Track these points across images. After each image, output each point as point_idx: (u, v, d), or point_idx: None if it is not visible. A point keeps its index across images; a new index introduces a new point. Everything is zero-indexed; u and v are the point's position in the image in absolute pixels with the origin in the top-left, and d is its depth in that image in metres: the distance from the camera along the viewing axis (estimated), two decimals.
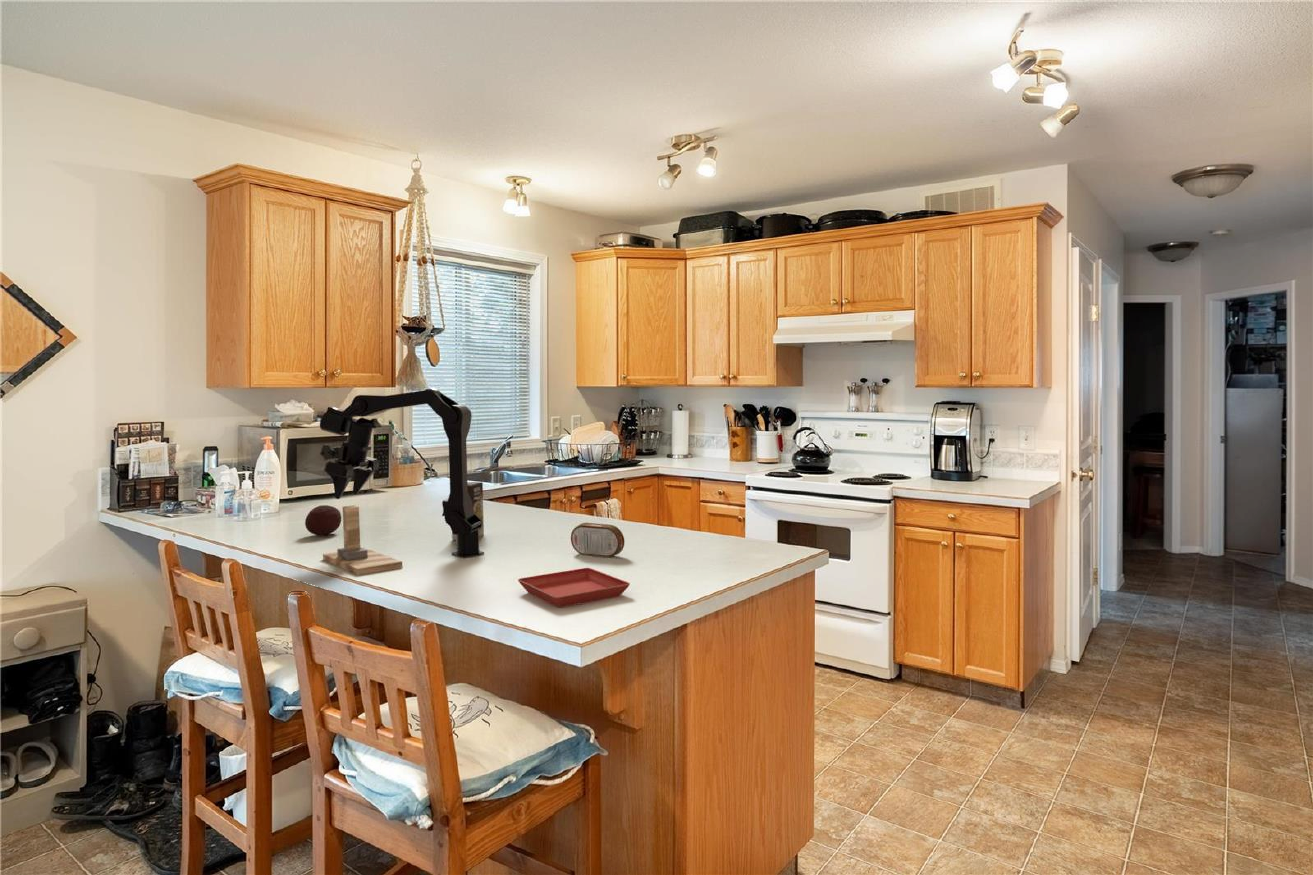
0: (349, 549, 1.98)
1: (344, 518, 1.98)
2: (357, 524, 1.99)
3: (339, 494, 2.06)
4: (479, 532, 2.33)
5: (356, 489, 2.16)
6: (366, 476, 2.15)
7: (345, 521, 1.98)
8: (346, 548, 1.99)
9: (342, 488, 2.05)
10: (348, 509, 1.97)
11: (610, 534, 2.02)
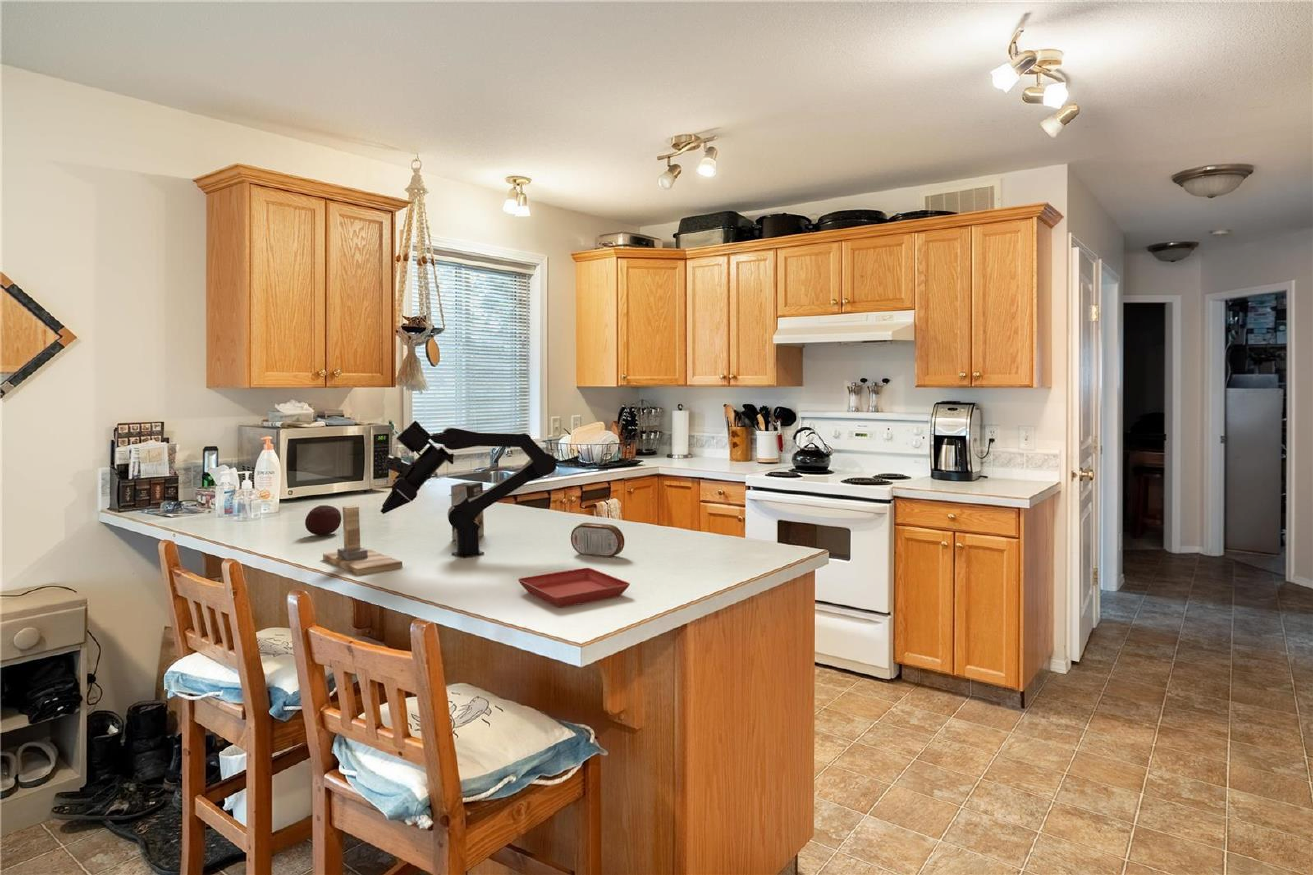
0: (349, 549, 1.98)
1: (344, 518, 1.98)
2: (357, 524, 1.99)
3: (387, 510, 1.97)
4: (479, 532, 2.33)
5: None
6: None
7: (345, 521, 1.98)
8: (346, 548, 1.99)
9: (395, 507, 1.97)
10: (348, 509, 1.97)
11: (610, 534, 2.02)
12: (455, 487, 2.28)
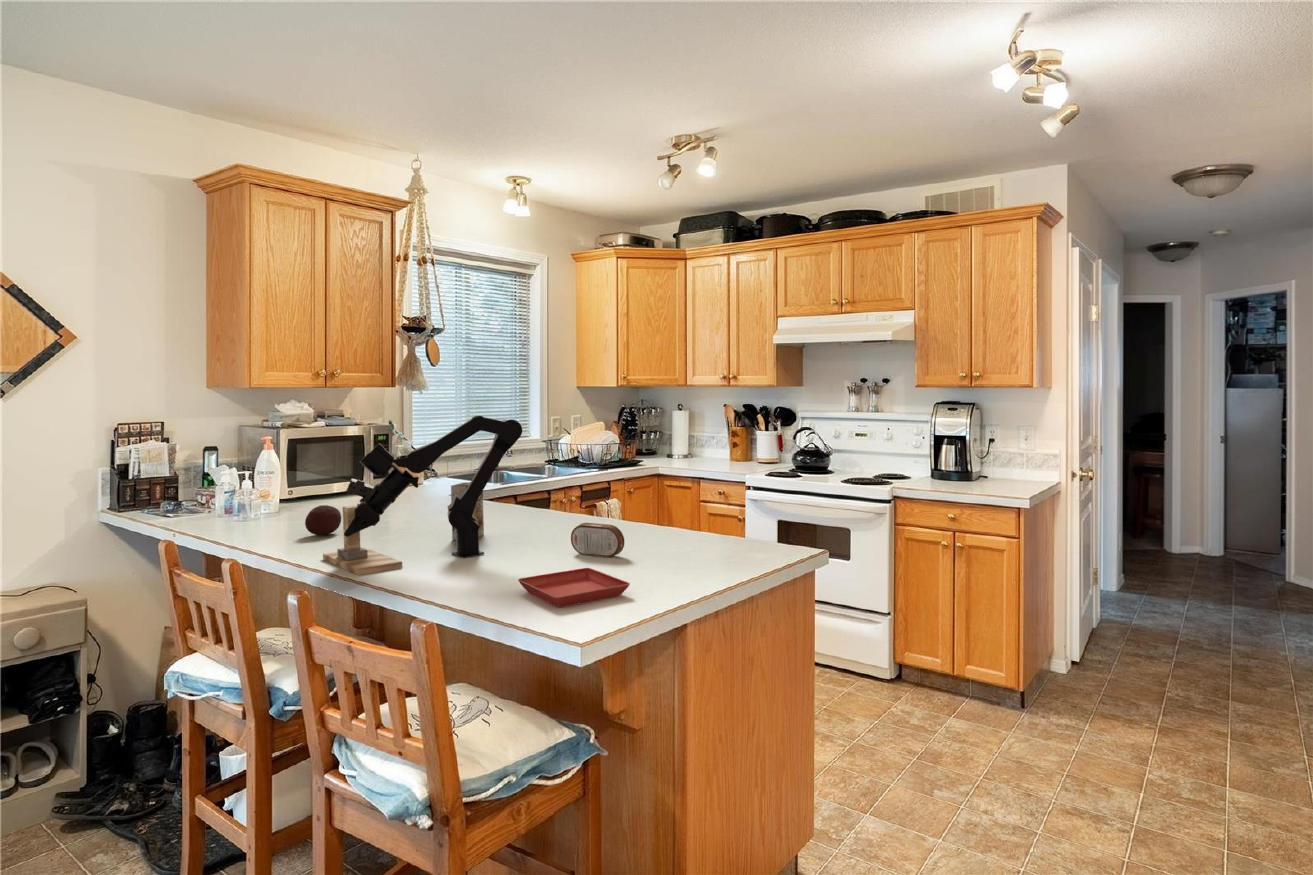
0: (349, 549, 1.98)
1: (344, 518, 1.98)
2: None
3: (350, 533, 1.97)
4: (479, 532, 2.33)
5: None
6: None
7: (345, 521, 1.98)
8: (346, 548, 1.99)
9: (358, 530, 1.97)
10: (348, 509, 1.97)
11: (610, 534, 2.02)
12: (455, 487, 2.28)
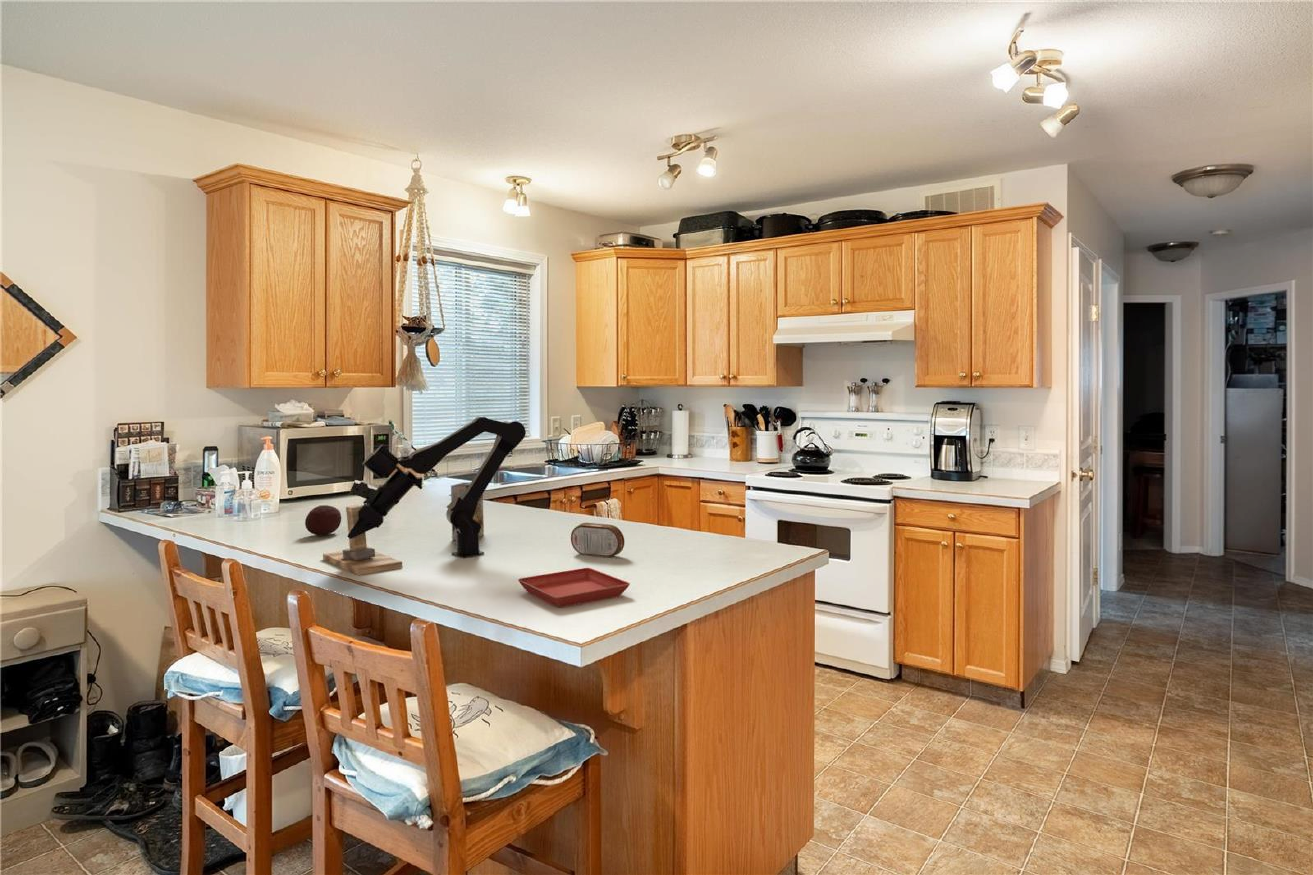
0: (356, 549, 1.96)
1: (348, 518, 1.97)
2: None
3: (354, 535, 1.95)
4: (479, 532, 2.33)
5: None
6: None
7: (349, 521, 1.97)
8: (352, 548, 1.97)
9: (362, 532, 1.95)
10: (353, 509, 1.96)
11: (610, 534, 2.02)
12: (455, 487, 2.28)
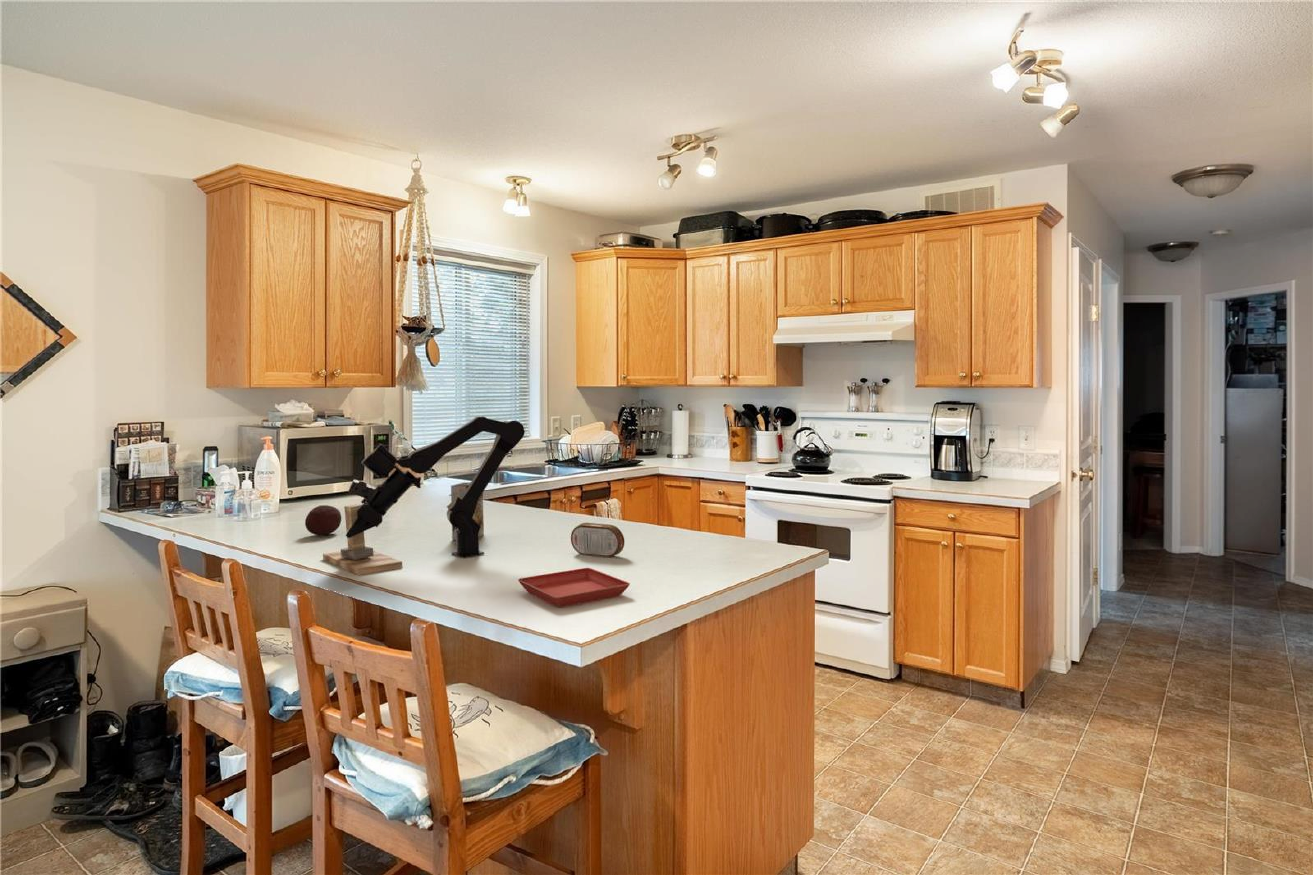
0: (354, 548, 1.97)
1: (347, 518, 1.97)
2: None
3: (353, 534, 1.96)
4: (479, 532, 2.33)
5: None
6: None
7: (348, 520, 1.97)
8: (351, 547, 1.97)
9: (360, 531, 1.96)
10: (351, 508, 1.96)
11: (610, 534, 2.02)
12: (455, 487, 2.28)
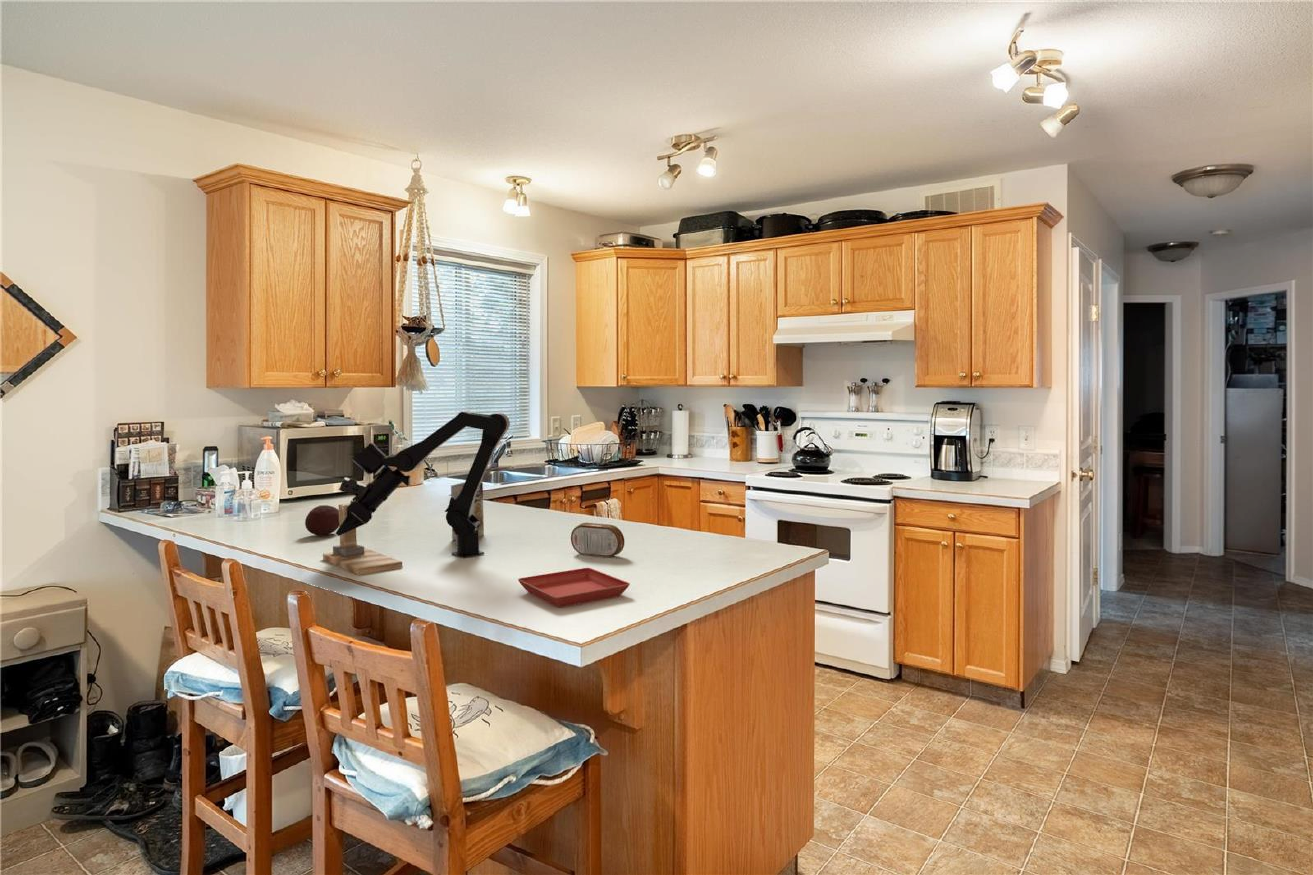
0: (346, 546, 2.02)
1: (340, 516, 2.02)
2: None
3: (342, 532, 1.98)
4: (479, 532, 2.33)
5: None
6: None
7: (341, 519, 2.02)
8: (343, 545, 2.02)
9: (350, 529, 1.98)
10: (345, 507, 2.01)
11: (610, 534, 2.02)
12: (455, 487, 2.28)
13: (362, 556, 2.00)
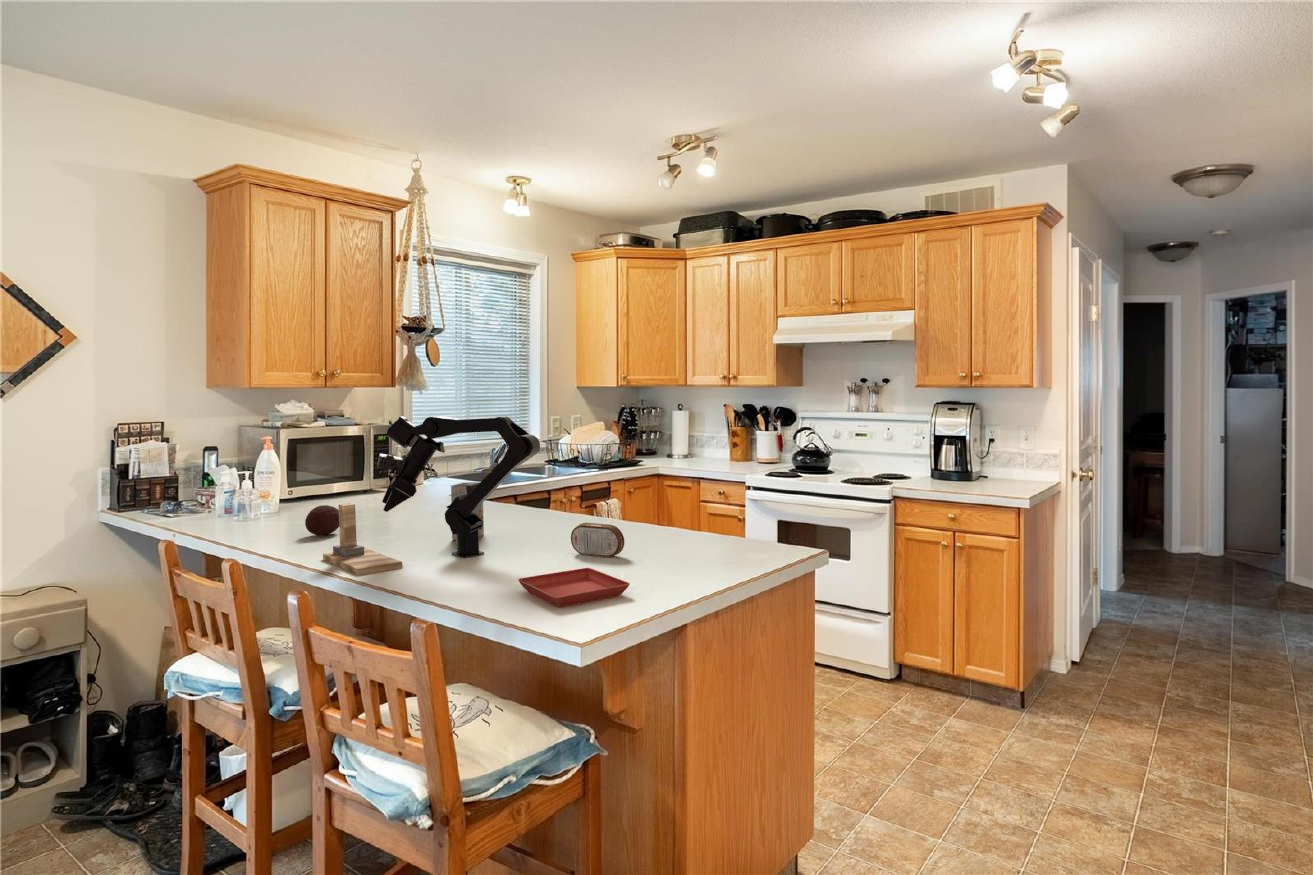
0: (346, 546, 2.02)
1: (340, 516, 2.02)
2: (353, 521, 2.03)
3: (390, 508, 2.03)
4: (479, 532, 2.33)
5: (387, 499, 2.11)
6: None
7: (341, 519, 2.02)
8: (343, 545, 2.02)
9: (397, 503, 2.03)
10: (345, 507, 2.01)
11: (610, 534, 2.02)
12: (455, 487, 2.28)
13: (362, 556, 2.00)
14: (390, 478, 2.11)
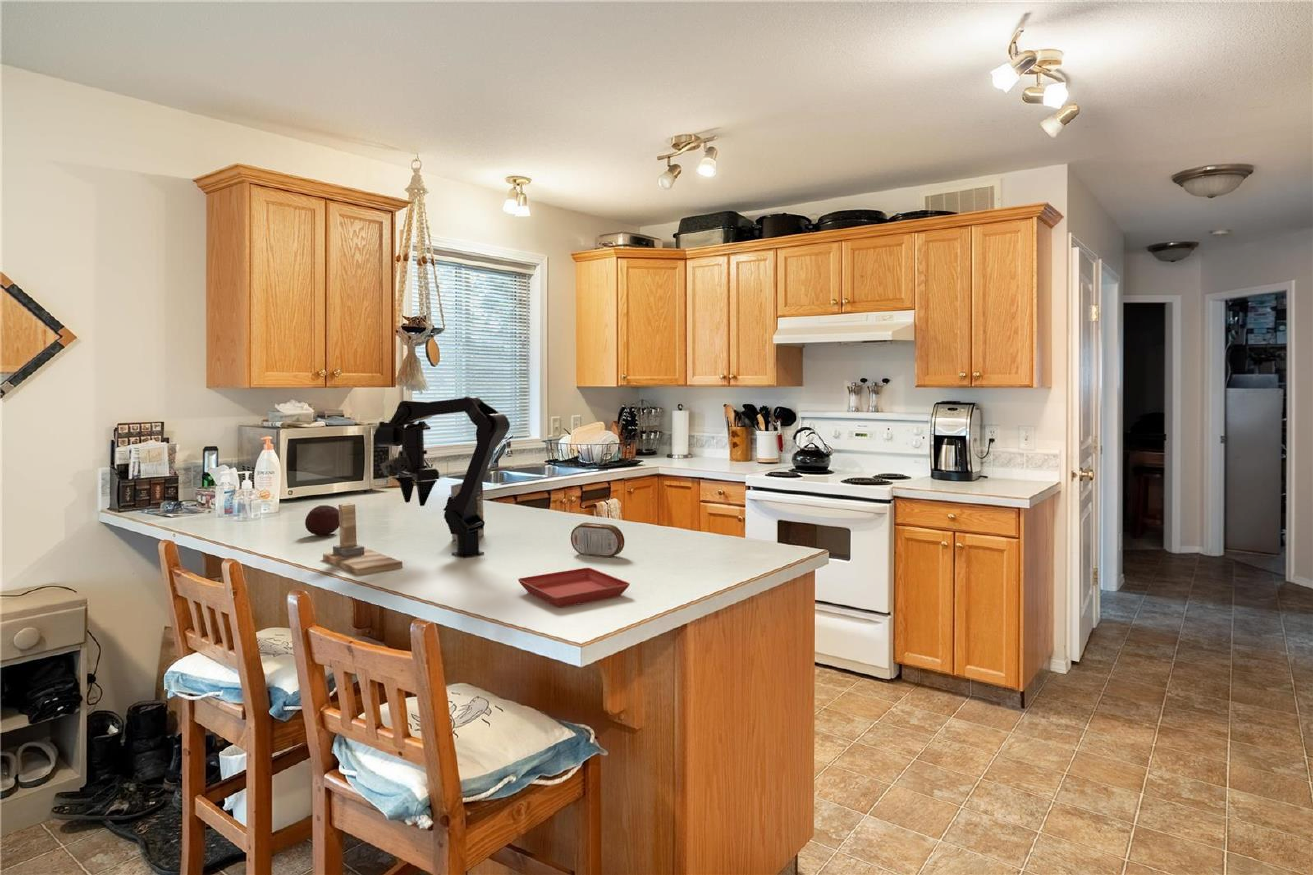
0: (346, 546, 2.02)
1: (340, 516, 2.02)
2: (353, 521, 2.03)
3: (425, 500, 2.09)
4: (479, 532, 2.33)
5: (408, 497, 2.16)
6: (413, 481, 2.17)
7: (341, 519, 2.02)
8: (343, 545, 2.02)
9: (428, 493, 2.09)
10: (345, 507, 2.01)
11: (610, 534, 2.02)
12: (455, 487, 2.28)
13: (362, 556, 2.00)
14: (398, 479, 2.14)
